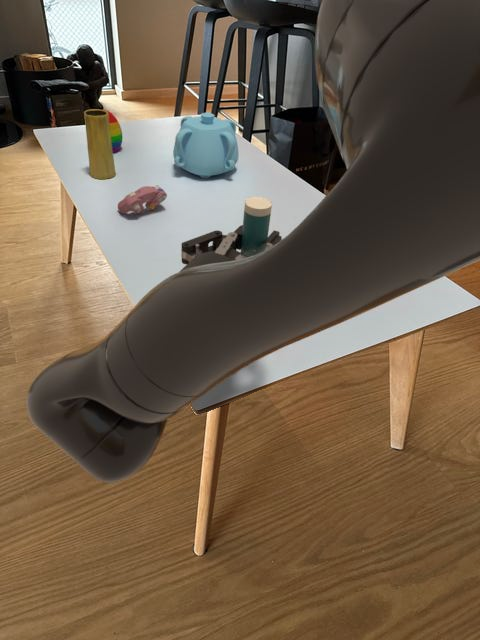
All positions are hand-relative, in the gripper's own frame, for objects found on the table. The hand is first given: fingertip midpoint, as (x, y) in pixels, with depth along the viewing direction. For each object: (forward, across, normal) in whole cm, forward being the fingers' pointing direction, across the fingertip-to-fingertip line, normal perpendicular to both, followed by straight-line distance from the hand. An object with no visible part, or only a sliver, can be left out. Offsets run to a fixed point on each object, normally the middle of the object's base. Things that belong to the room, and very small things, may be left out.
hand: (262, 233), depth 60 cm
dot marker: (-3, 0, +8) cm, 8 cm away
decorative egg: (+50, +64, +18) cm, 83 cm away
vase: (+36, +55, +18) cm, 68 cm away
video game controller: (+25, +36, +18) cm, 48 cm away
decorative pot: (+53, +36, +18) cm, 67 cm away
